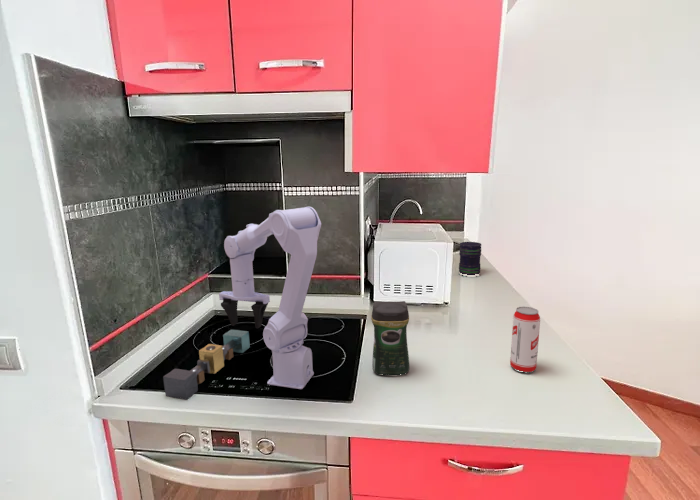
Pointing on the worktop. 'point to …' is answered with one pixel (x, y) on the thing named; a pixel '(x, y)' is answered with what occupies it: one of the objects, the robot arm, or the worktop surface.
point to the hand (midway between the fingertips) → (246, 325)
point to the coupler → (213, 357)
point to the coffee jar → (390, 338)
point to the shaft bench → (203, 367)
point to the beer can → (525, 339)
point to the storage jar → (470, 258)
